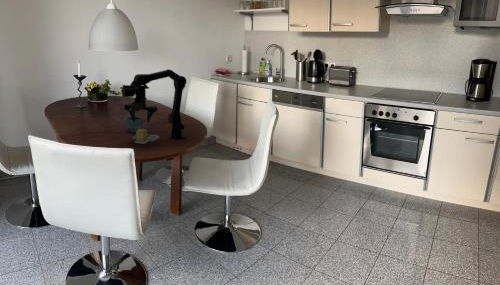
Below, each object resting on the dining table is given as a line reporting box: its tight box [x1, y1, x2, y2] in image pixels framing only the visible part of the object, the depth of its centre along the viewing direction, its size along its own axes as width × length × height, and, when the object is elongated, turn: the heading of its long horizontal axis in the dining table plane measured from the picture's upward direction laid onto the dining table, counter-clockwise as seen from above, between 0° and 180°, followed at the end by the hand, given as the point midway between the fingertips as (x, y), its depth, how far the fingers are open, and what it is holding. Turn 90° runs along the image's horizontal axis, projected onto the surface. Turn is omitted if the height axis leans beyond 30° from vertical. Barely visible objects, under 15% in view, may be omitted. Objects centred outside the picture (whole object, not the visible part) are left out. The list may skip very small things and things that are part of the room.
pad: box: [134, 140, 150, 145], centre depth 225 cm, size 6×6×1 cm
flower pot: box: [124, 116, 144, 133], centre depth 245 cm, size 9×9×9 cm
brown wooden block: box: [135, 128, 148, 142], centre depth 224 cm, size 4×4×7 cm
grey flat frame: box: [131, 134, 160, 142], centre depth 232 cm, size 14×8×2 cm, turn 79°
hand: (141, 122), depth 222 cm, fingers open, 9 cm apart
